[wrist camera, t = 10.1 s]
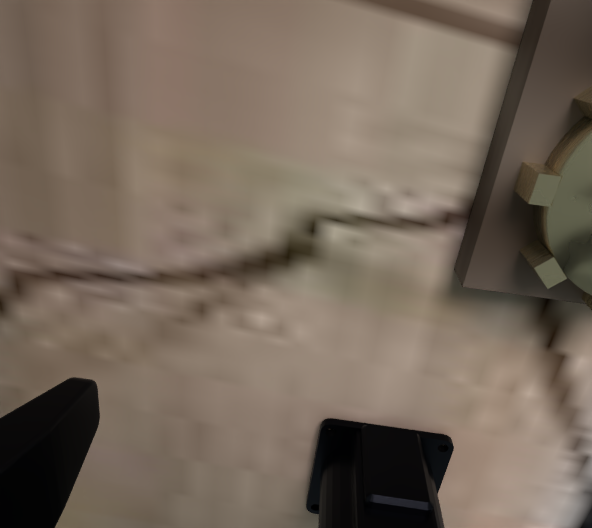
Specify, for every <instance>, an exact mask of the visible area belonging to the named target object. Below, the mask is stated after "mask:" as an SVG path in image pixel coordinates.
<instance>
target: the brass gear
mask: <svg viewBox="0 0 592 528" xmlns="http://www.w3.org/2000/svg"><path fill="white" fill-rule="evenodd" d="M573 99H574V100H575V102H576V104H577V106H578V108H579V110H580V112H581V113H582V115H583V116H584V117H583V118H582V119H580V120H579V121H578V122H577V123H576V124H575V125H574V126H573V127H572V128H571V129H570V130H569V131H568V132H567V133H566V134H565V135H564V136H563V137H562V139H561V140H560V141H559V142H558V144H557V145H556V147H555V148H554V149H553V151H552V152H551V154H550V156H549V157H548V159H547V161H546V163H545V164H537V163H529V162H522V165H521V168H520V171H519V174H518V177H517V181H516V184H515V187H514V191H515V192H516V193H517V194H518V195H520V196H521V197H522V198H523V199H524V200H525V201H526V202H527V203H528V204H533V220H534V226H535V231H536V234H537V237H538V240H539V241H538V240H536V241H534V242H532V243H531V244H529V245H527V246H525V247H524V248H522V249H520V252H521V253H522V255H523V256H524V258H525V259H526V261H527V263H528V264H529V266H530V267H531V269H532V270H533V271H534V273H535V274H536V275H537V276H538V278H539V279H540V280H541V281H542V283H543V284H544V285H545V286H546V288H547V289H549V288H551V287H552V286H554V285H556V284H558V283H560V282H562V281H564V280H565V279H567V277H568V278H569V279H570V280H571V281H572V282H573V283H574V284H575V285H576V286H578V287H579V288H580V289H582V290H583V291H585V292H584V294H583V296H582V300H583V301H584V302H585V303H586V304H587V305H588V306H589V307H590V309H591V310H592V86H591V87H589V88H588V89H586V90H585V91H583V92H582V93H580V94H579V95H577V96H576V97H574V98H573ZM565 275H566V276H567V277H566V276H565Z"/></svg>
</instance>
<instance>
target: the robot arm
mask: <svg viewBox="0 0 592 528" xmlns="http://www.w3.org/2000/svg"><path fill="white" fill-rule="evenodd" d="M99 419H100V411H99V400H98V388H97V384H96V382H95V381H93V380H90V379H83V378H76V377H75V378H70V379H67V380H66V381H64V382H62V383H60V384H59V385H57V386H55V387H53V388H52V389H50V390H48V391H47V392H45V393H43V394H41V395H40V396H38V397H36V398H34V399H33V400H31V401H29V402H27V403H26V404H24V405H22V406H21V407H19V408H17V409H15V410H14V411H12V412H10V413H8V414H7V415H5V416H3V417H1V418H0V528H55V526H56V524H57V522H58V520H59V518H60V516H61V514H62V512H63V510H64V508H65V505H66V503H67V501H68V498H69V496H70V494H71V491H72V489H73V486H74V484H75V482H76V479H77V477H78V474H79V472H80V469H81V467H82V465H83V462H84V460H85V457H86V455H87V453H88V450H89V448H90V445H91V443H92V440H93V438H94V436H95V433H96V431H97V428H98V425H99ZM328 428H332V429H333V430H329V429H328ZM443 444H445V445H443ZM440 445H443V446H440ZM453 449H454V446H453V443H452V440H451V438H450V437H449V436H447V435H444V434H437V433H430V432H423V431H416V430H409V429H402V428H395V427H388V426H381V425H374V424H367V423H360V422H353V421H346V420H339V419H325V420H324V421H323V422H322V423H321V426H320V432H319V437H318V442H317V448H316V453H315V458H314V464H313V469H312V474H311V480H310V485H309V491H308V496H307V504H306V507H307V510H308V511H309V512H311V513H314V514H319V528H444V523H443V518H442V514H441V509H440V504H439V500H438V495H437V494H438V491H439V488H440V486H441V483H442V480H443V477H444V475H445V472H446V469H447V466H448V463H449V461H450V458H451V455H452V452H453Z"/></svg>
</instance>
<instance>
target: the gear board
mask: <svg viewBox="0 0 592 528" xmlns="http://www.w3.org/2000/svg"><path fill="white" fill-rule="evenodd" d="M591 86H592V0H533V3H532V7H531V10H530V14H529V17H528V20H527V24H526V27H525V31H524V34H523V37H522V41H521V44H520V48H519V51H518V54H517V58H516V61H515V65H514V68H513V71H512V75H511V78H510V82H509V85H508V88H507V92H506V95H505V99H504V102H503V105H502V109H501V112H500V115H499V119H498V122H497V126H496V129H495V132H494V136H493V139H492V143H491V146H490V149H489V153H488V156H487V160H486V163H485V166H484V170H483V173H482V177H481V180H480V183H479V187H478V190H477V194H476V197H475V200H474V204H473V207H472V211H471V214H470V217H469V221H468V224H467V228H466V231H465V234H464V238H463V241H462V245H461V248H460V251H459V255H458V258H457V262H456V265H455V268H454V270H455V272H456V274H457V276H458V278H459V280H460V282H461V284H462V287H468V288H475V289H482V290H490V291H497V292H504V293H511V294H518V295H526V296H533V297H540V298H547V299H554V300H562V301H569V302H576V303H583V304H586V303H585V302H584V301H583V300H582V296H583V294H584V292H585V291H583V290H582V289H580V288H579V287H578V286H576V285H575V284H574V283H573V282H572V281H571V280H570V279H569V278H568V277H567V276H566V275H565V276H566V277H567V279H565V280H564V281H562V282H560V283H558V284H556V285H554V286H552V287H551V288H549V289H547V288H546V286H545V285H544V284H543V283H542V281H541V280H540V279H539V278H538V276H537V275H536V274H535V273H534V271H533V270H532V269H531V267H530V266H529V264H528V263H527V261H526V259H525V258H524V256H523V255H522V253H521V252H520V249H522V248H524V247H525V246H527V245H529V244H531V243H532V242H534V241H536V240H538V237H537V234H536V231H535V226H534V220H533V204H528V203H527V202H526V201H525V200H524V199H523V198H522V197H521V196H520V195H518V194H517V193H516V192H515V191H514V187H515V184H516V181H517V177H518V174H519V171H520V168H521V165H522V162H529V163H537V164H545V163H546V161H547V159H548V157H549V156H550V154H551V152H552V151H553V149H554V148H555V147H556V145H557V144H558V142H559V141H560V140H561V139H562V137H563V136H564V135H565V134H566V133H567V132H568V131H569V130H570V129H571V128H572V127H573V126H574V125H575V124H576V123H577V122H578V121H579V120H580V119H582V118H583V117H584V116H583V115H582V113H581V112H580V110H579V108H578V106H577V104H576V102H575V100H574V99H573V98H574V97H576V96H577V95H579V94H580V93H582V92H583V91H585V90H586V89H588V88H589V87H591ZM538 241H539V240H538Z"/></svg>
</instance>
